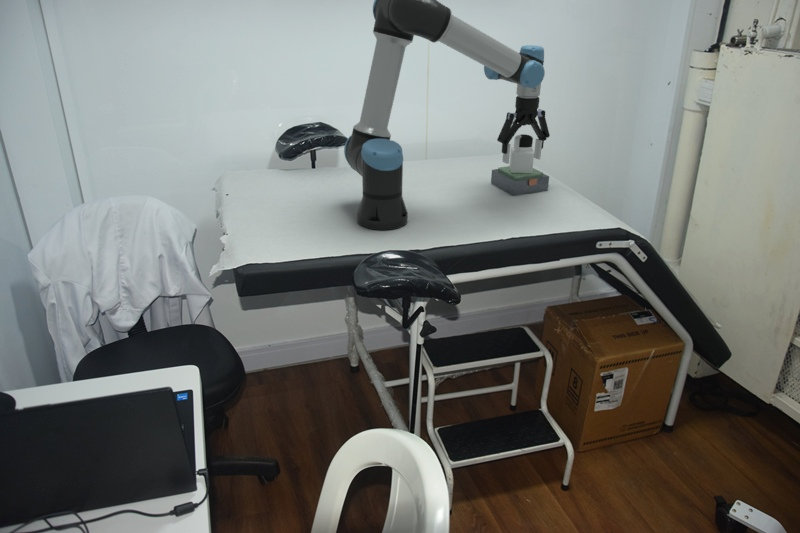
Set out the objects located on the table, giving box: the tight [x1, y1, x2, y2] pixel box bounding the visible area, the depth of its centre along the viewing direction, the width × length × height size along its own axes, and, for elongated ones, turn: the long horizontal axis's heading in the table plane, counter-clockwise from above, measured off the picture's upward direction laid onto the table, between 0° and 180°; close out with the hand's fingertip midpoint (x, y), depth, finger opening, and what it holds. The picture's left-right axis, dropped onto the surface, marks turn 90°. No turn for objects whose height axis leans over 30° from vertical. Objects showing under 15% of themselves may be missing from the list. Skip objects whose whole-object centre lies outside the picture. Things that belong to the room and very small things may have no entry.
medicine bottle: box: [509, 133, 535, 173], centre depth 208 cm, size 7×7×12 cm
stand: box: [490, 165, 550, 197], centre depth 212 cm, size 14×15×6 cm
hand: (521, 160), depth 209 cm, fingers open, 12 cm apart
